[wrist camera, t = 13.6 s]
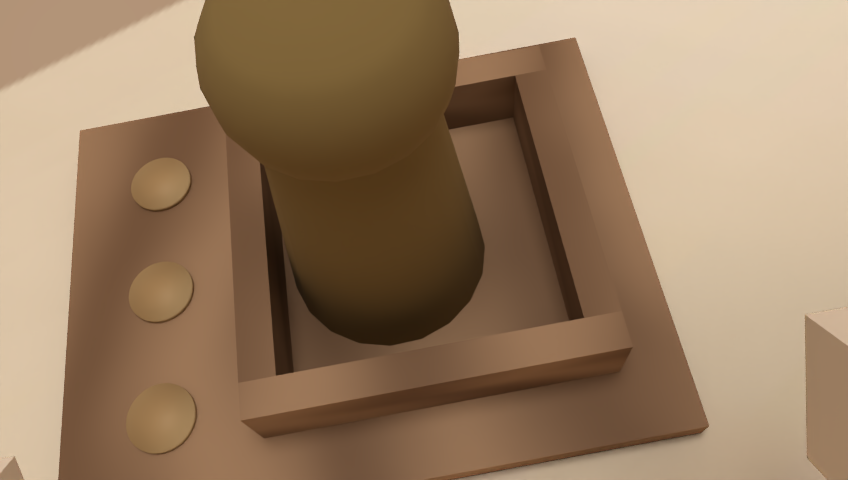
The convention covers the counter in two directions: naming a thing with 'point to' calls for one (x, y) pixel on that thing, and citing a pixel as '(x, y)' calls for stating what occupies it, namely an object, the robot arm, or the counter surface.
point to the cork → (352, 152)
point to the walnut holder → (346, 359)
